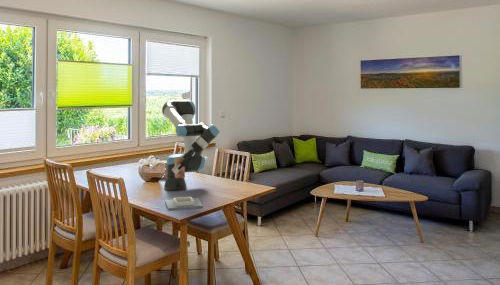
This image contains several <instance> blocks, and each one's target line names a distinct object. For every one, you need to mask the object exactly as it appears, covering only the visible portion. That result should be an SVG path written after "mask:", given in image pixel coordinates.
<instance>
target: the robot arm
mask: <svg viewBox="0 0 500 285" xmlns="http://www.w3.org/2000/svg"><path fill="white" fill-rule="evenodd" d="M196 110H197V109H196V106H195V103H194V102H193V101H192V100H190V99H189V100H188V99H171V100H167V101H166V102H164V104H163V106H162V108H161V114H162V115H163V116H164V117H165V118H166V119H168V120H169V121H170V123H172V125H173V126H174V128H175V134H176V136H177V137H181V138H183V143H184V148H185V149H184V150H185V152H184V154H183V153H176V154H175V153H174V154H170V155H169V156H167V158H166V162H167V163H166V164H167V178H165V181H164V182H165V183H164V190H166V191H171V192H172V191H174V192H175V191H176V192H177V191H185V190H186V189H187V182H186V179H185V178H175V174H177V173H178V172H179V171H180V170H181V169H182V168H183V167H184V166H185V174H186V173H194V172H195V173H196V172H201V171H203V170H204V168H205V165H206V159H205V156H204V154H202V152H203V151H204V149H206V148H208V146H209V144H211V142H213V140H214V139H215V138H216V137H217V136H218V135H219V134H220V130H219V129H218V127H216V125H215V124H210V125H208V124H206V123H205V122H199V123H197V124H196V123H195V124H194V123H193V122H194V121H193V119H194V116H195V115H196ZM196 137H198V138H196ZM175 158H184V159H185V160H184V161H183V162H182V163H180V164H179V165H178V166H177V168H176V169H175Z"/></svg>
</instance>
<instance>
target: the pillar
mask: <svg viewBox="0 0 500 285" xmlns="http://www.w3.org/2000/svg"><path fill="white" fill-rule="evenodd" d="M184 160H185V159H184V158H175V169H176V168H177V166H178V165H179V164H180V163H182V162H183V161H184ZM185 177H186V173H185V166H184V167H183V168H182V169H181V170H180V171H179V172H178V173H177V174H175V178H184V179H185Z"/></svg>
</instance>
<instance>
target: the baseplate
mask: <svg viewBox="0 0 500 285" xmlns="http://www.w3.org/2000/svg"><path fill="white" fill-rule="evenodd" d="M164 203H165V205H166V208H167V211H177V210H189V209H203V208H204V205H203V204H202V202H201V200H200V199H199V198H198V197H192V196H180V197H172V199H164Z"/></svg>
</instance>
